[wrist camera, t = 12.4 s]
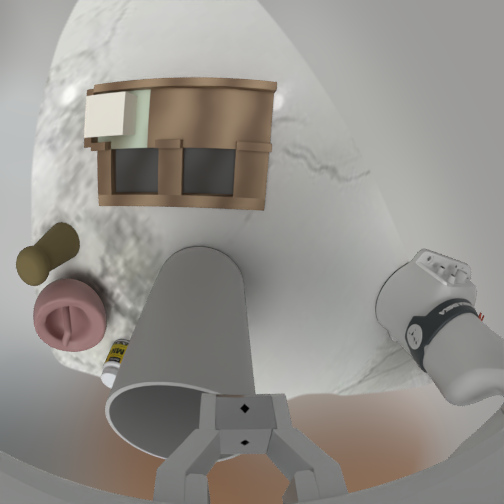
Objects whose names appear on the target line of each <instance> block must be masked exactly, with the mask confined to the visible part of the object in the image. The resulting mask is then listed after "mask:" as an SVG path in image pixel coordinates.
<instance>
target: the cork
mask: <svg viewBox="0 0 504 504" xmlns="http://www.w3.org/2000/svg"><path fill="white" fill-rule="evenodd" d="M79 248H80V241H79V238H78V235H77V233H76V231H75V230H74V229H73V228H72V226H70V225H68V224H67V223H62V222H61V223H57V224H55V225H54V226H53V227H52V228H51V229H50V230H49V231H48V232H47V233H46V234H45V235H44V236H43V237H42V238H41V239H40V240H39V241H38V242H37V243H36V244H35V245H34V246H29V247H26V248H24V249H23V250H22V251H21V252H20V253H19V255H18V257H17V261H16V268H17V272H18V274H19V276H20V278H21V279H22V280H23V281H24V282H25V283H26V284H28V285H31V286H38V285H40V284H42V283H43V282H44V281H45V280H46V279H47V277H48V275H49V272H50V271H51V270H53V269H55V268H56V267H58V266H60V265H61V264H63V263H65V262H66V261H68V260H70V259H71V258H73V257H75V256H76V255H77V253H78V251H79Z"/></svg>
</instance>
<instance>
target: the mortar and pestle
mask: <svg viewBox="0 0 504 504" xmlns="http://www.w3.org/2000/svg"><path fill="white" fill-rule="evenodd" d="M33 317H34V326H35V329H36V332H37V334H38V336H39V337H40V339H42V340H43V341H44V342H45V343H47V344H48V345H49V346H50V347H53V348H56V349H59V350H62V351H69V352H78V351H84V350H87V349H90V348H92V347H94V346H95V345H97V344H98V343H99V342H100V341H101V340H102V339H103V337H104V334H105V330H106V313H105V309H104V305H103V303H102V301H101V299H100V297H99V296H98V295H97V293H96V292H95V291H94V290H93V289H92V288H91V287H90V286H88V285H87V284H85V283H83V282H81V281H79V280H75V279H60V280H56V281H54V282H52V283H50V284H49V285H47V286H46V287H45V288H44V289H43V290H42V291H41V293H40V294H39V296H38V297H37V300H36V303H35V306H34V315H33Z"/></svg>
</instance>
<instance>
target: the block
mask: <svg viewBox="0 0 504 504" xmlns="http://www.w3.org/2000/svg"><path fill="white" fill-rule="evenodd" d="M136 109H137V96H136V95H133V94H131V93H128V92H116V93H107V94H98V95H91V96H87V98H86V111H85V130H84V138H89V137H104V136H119V135H135V125H136Z"/></svg>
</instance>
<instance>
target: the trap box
mask: <svg viewBox="0 0 504 504" xmlns="http://www.w3.org/2000/svg"><path fill="white" fill-rule="evenodd" d="M276 89H277V82H270V81H260V80H248V79H233V78H158V79H143V80H131V81H121V82H113V83H105V84H98V85H94V89H89V90H87V96H91V95H98V94H107V93H116V92H128V93H131V94H133V95H136V96H137V109H136V125H135V135H119V136H104V137H89V138H84V148H87V147H91V151H98V154H97V161H98V197H99V206H165V207H200V208H225V209H246V210H264V206H265V194H266V183H267V171H268V159H269V152H271V151H272V144H270V135H271V123H272V110H273V98H274V92H275V91H276Z"/></svg>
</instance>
